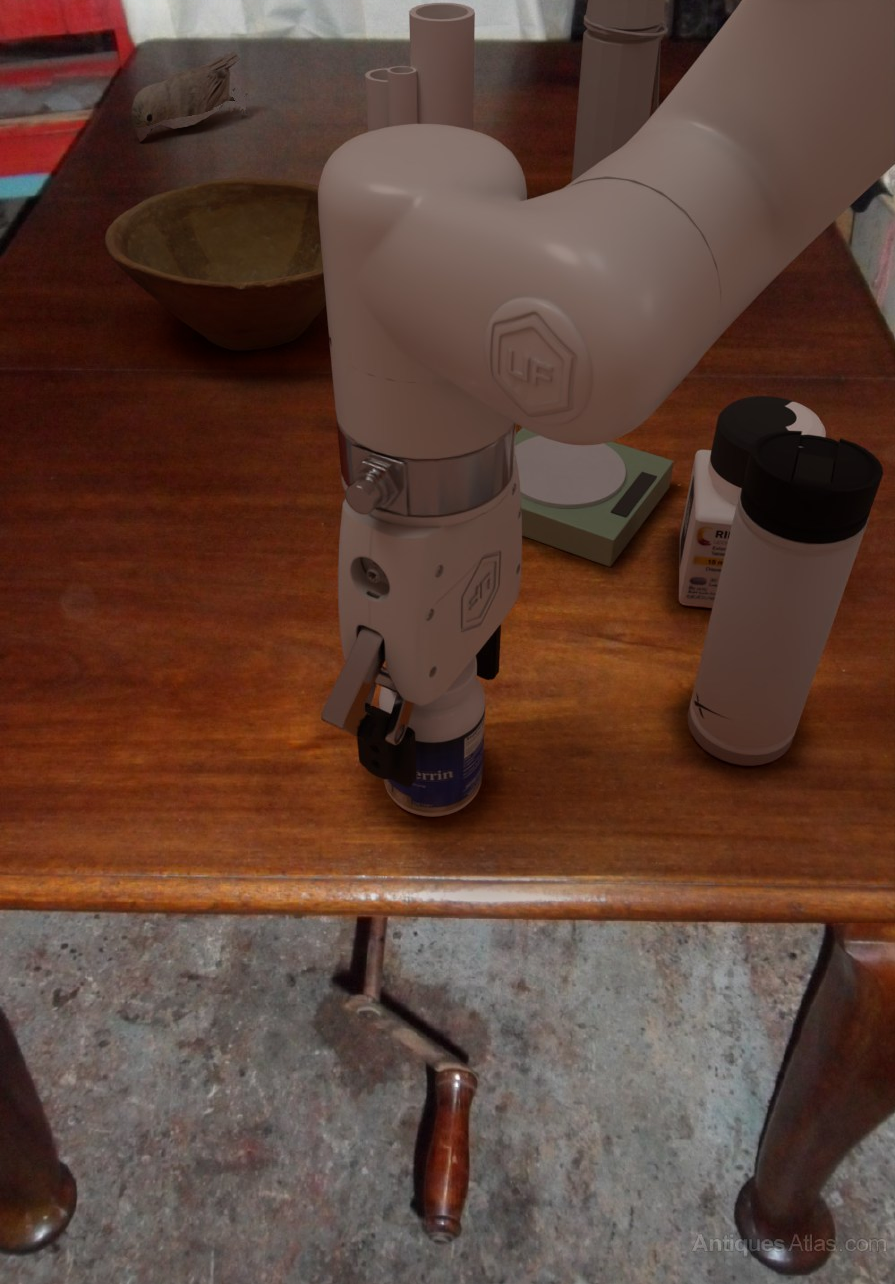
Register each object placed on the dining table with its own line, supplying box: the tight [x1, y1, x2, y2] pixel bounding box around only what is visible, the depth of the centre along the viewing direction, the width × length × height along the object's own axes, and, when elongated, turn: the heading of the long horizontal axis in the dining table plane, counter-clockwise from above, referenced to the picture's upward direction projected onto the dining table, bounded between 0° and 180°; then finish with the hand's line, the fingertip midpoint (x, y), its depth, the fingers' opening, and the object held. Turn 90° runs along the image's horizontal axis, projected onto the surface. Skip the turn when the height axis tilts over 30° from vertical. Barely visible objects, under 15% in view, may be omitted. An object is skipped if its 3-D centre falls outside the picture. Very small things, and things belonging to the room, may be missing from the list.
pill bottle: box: [378, 656, 486, 817], centre depth 58 cm, size 6×6×10 cm
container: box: [678, 395, 827, 609], centre depth 70 cm, size 8×8×13 cm
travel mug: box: [687, 431, 884, 767], centre depth 57 cm, size 6×7×20 cm
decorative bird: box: [131, 51, 248, 128], centre depth 135 cm, size 5×16×7 cm, turn 133°
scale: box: [515, 427, 675, 568], centre depth 79 cm, size 12×11×3 cm
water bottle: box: [571, 0, 669, 182], centre depth 105 cm, size 9×8×25 cm
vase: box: [364, 2, 476, 132], centre depth 111 cm, size 11×7×20 cm, turn 85°
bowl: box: [104, 177, 326, 352], centre depth 96 cm, size 22×23×10 cm
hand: (431, 717), depth 58 cm, fingers open, 8 cm apart
